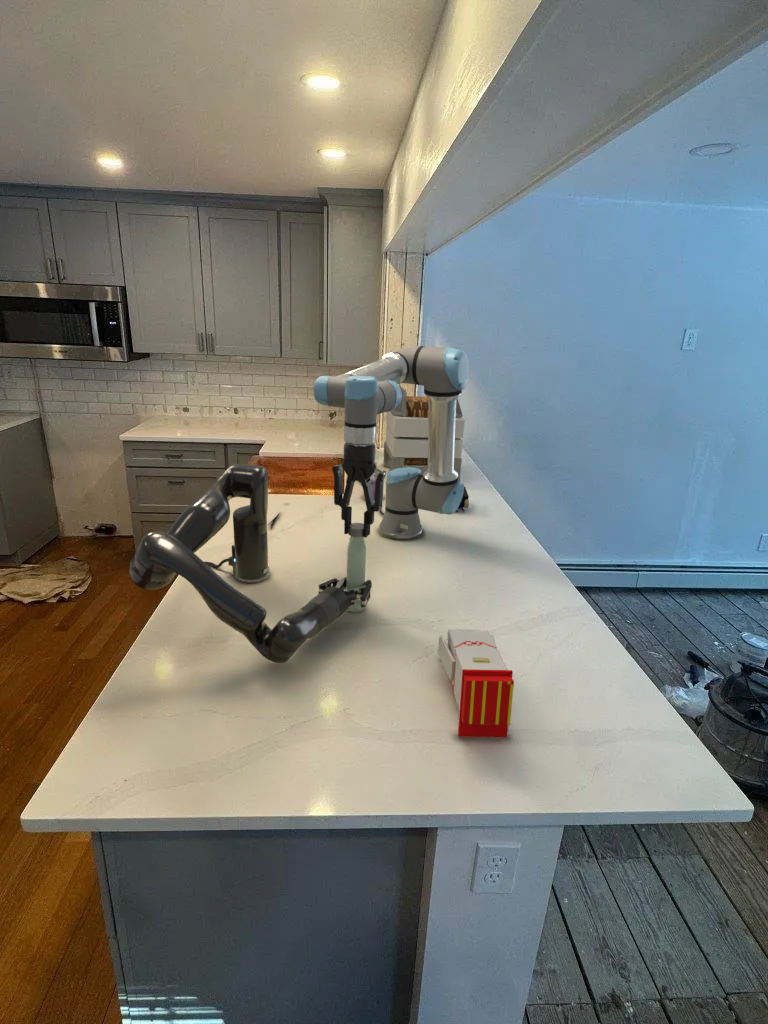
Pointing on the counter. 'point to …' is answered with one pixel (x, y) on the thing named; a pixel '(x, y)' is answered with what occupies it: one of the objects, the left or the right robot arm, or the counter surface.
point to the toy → (478, 682)
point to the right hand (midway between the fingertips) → (357, 533)
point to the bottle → (356, 566)
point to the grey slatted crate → (415, 434)
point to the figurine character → (464, 501)
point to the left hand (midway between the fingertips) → (360, 580)
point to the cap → (356, 529)
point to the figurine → (372, 484)
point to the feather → (273, 520)
